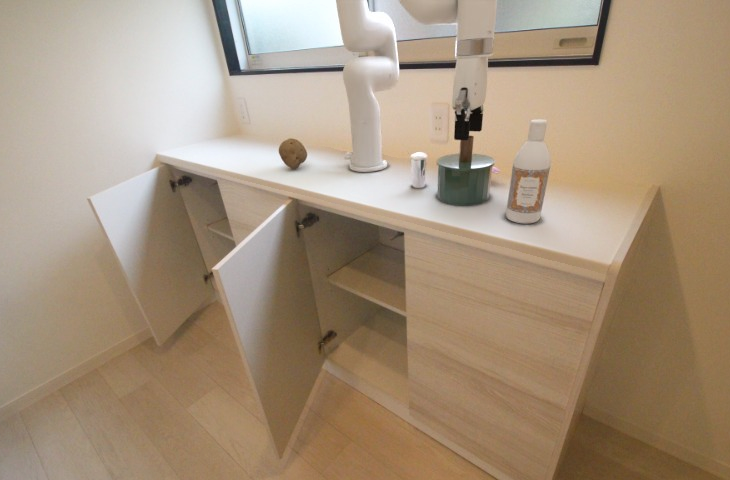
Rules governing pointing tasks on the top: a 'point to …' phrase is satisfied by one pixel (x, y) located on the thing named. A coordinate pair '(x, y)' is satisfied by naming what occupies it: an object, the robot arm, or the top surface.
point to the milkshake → (418, 169)
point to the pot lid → (466, 159)
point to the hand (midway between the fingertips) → (468, 135)
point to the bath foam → (529, 177)
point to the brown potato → (292, 153)
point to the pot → (463, 186)
